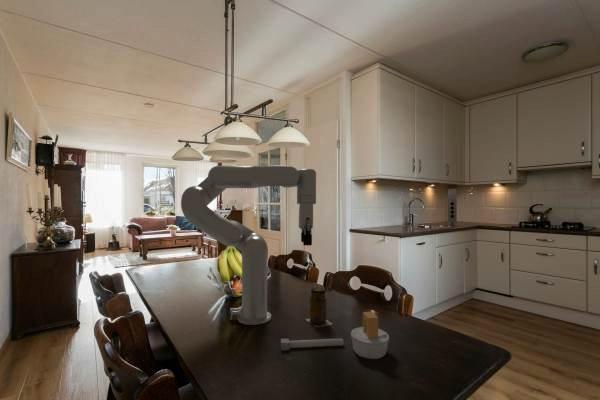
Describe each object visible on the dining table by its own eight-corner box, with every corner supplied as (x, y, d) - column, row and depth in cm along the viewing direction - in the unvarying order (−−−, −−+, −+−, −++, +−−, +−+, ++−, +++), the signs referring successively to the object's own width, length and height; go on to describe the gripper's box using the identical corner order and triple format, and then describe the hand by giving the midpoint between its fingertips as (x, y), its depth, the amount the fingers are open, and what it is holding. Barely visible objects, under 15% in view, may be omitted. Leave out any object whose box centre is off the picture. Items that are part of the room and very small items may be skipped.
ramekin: (382, 365, 82) (382, 346, 82) (344, 354, 88) (344, 336, 88) (393, 349, 91) (393, 331, 92) (358, 340, 97) (358, 323, 98)
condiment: (321, 316, 117) (321, 285, 117) (333, 324, 110) (333, 291, 110) (304, 319, 114) (304, 288, 114) (315, 328, 107) (315, 294, 107)
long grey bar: (281, 350, 90) (281, 343, 90) (280, 345, 93) (280, 338, 93) (344, 347, 92) (344, 340, 92) (342, 343, 95) (342, 336, 95)
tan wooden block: (368, 338, 87) (368, 318, 87) (362, 331, 92) (362, 312, 92) (378, 337, 87) (378, 317, 88) (372, 330, 92) (372, 311, 92)
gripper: (295, 200, 127) (295, 241, 127) (298, 200, 110) (298, 246, 110) (313, 200, 128) (312, 240, 128) (319, 200, 111) (318, 246, 110)
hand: (306, 243), depth 119 cm, fingers open, 9 cm apart
